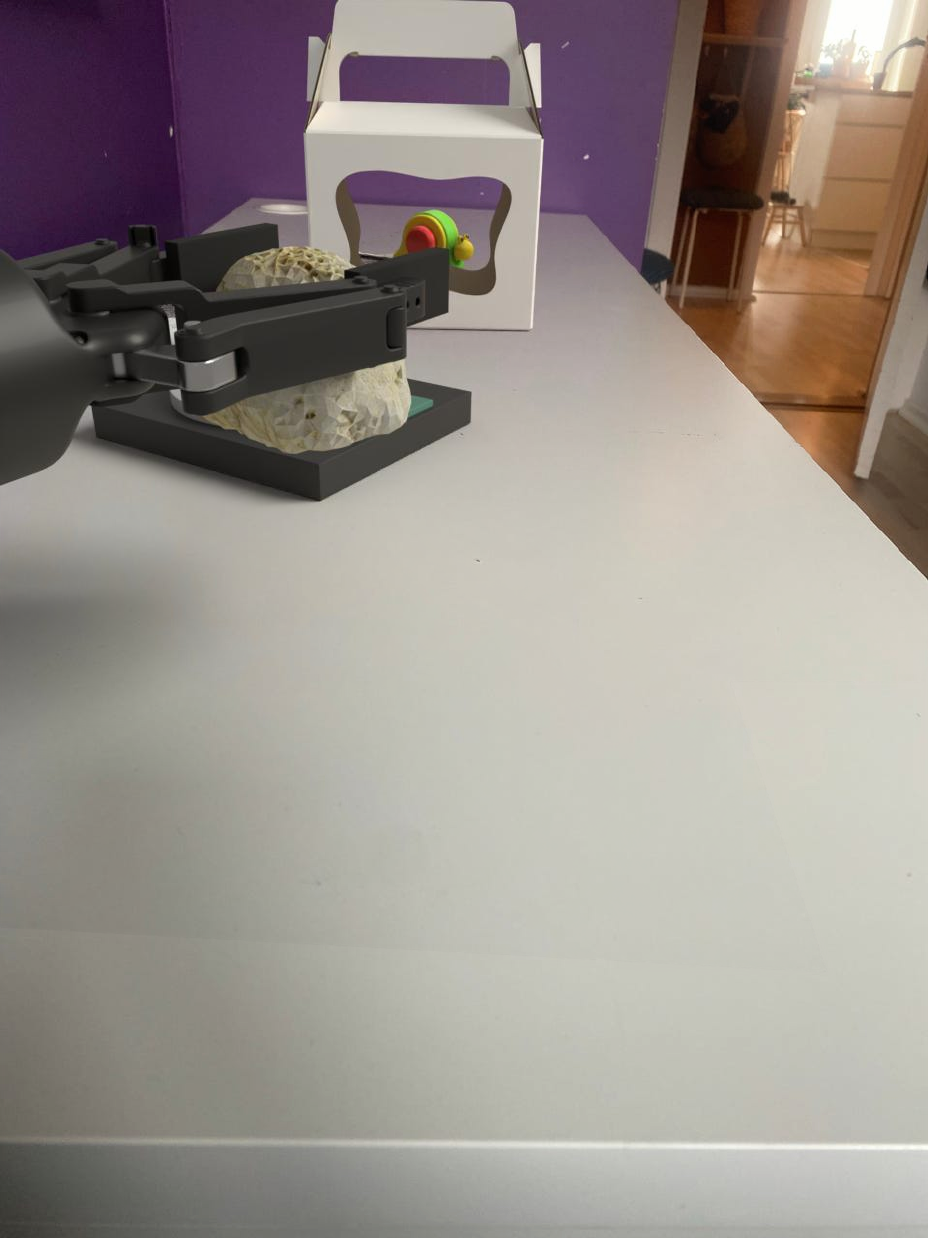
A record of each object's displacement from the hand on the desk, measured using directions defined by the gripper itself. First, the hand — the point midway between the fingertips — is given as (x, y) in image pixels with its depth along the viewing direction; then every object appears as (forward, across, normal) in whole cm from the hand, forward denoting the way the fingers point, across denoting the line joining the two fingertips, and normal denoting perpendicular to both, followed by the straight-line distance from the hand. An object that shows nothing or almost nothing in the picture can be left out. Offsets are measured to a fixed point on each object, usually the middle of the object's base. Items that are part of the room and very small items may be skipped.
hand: (353, 265), depth 46 cm
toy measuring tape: (+73, -46, -16) cm, 88 cm away
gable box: (+51, -29, -16) cm, 61 cm away
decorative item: (-4, 0, -6) cm, 8 cm away
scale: (+15, -17, -16) cm, 28 cm away
